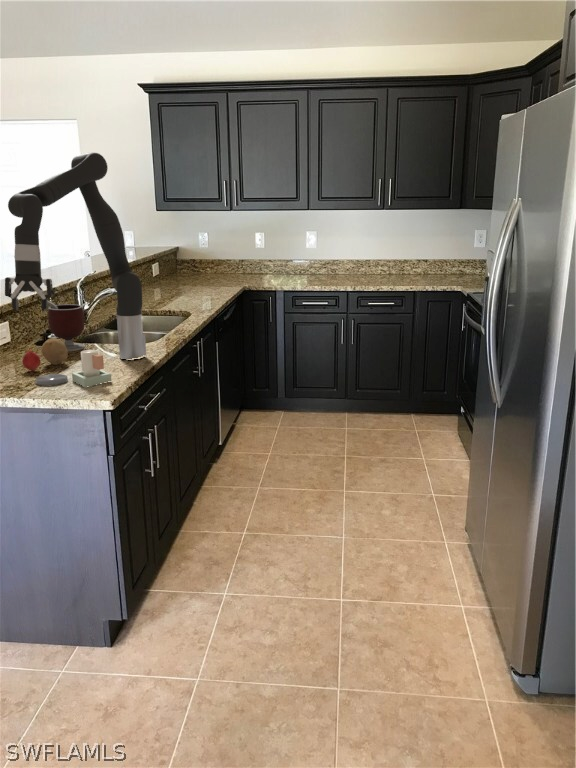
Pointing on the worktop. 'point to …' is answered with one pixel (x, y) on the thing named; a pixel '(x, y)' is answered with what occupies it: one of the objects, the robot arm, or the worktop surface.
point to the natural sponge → (54, 351)
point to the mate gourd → (67, 323)
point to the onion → (31, 360)
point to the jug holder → (91, 378)
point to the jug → (91, 363)
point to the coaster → (51, 379)
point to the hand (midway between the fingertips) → (30, 310)
